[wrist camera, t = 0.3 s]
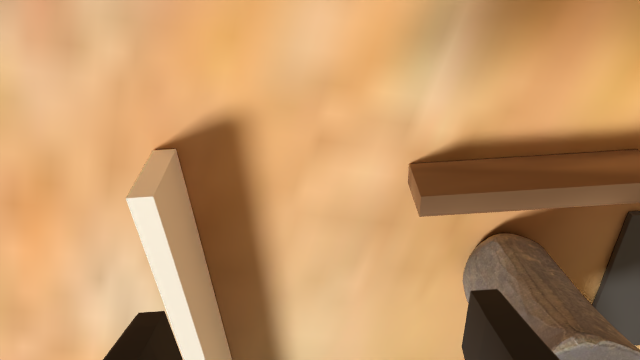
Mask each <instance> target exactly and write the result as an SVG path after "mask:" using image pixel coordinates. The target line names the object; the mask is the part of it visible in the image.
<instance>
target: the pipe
mask: <svg viewBox="0 0 640 360" xmlns="http://www.w3.org/2000/svg"><path fill="white" fill-rule="evenodd" d="M463 286H464V291H465V295H466V298H467V301H468V303H469V298H470V292H471V291H474V290H489V289H498V290H499V291H500V292H501V293H502V294H503V295H504V297H505V298H506V299H507V300H508V301H509V303H510V304H511V305H512V306H513V307H514V309H515V310H516V311H517V312H518V313H519V314H520V316H521V317H522V318H523V319H524V320H525V321H526V322H527V324H528V325H529V326H530V327H531V328H532V329H533V330H534V332H535V333H536V334H537V335H538V336H539V337H540V338H541V339H542V341H543V342H544V343H545V344H546V345H547V346H548V347H549V348H550V349H551V350H552V352H553V353H554V354H555V355H556V356H557V357H558V358H559V359H560V360H640V350H639V349H638V348H637V347H636V346H634V345H633V344H632V343H631V342H630V341H629V340H627V339H626V338H625V337H624V336H623V335H622V334H621V333H620V332H619V331H618V330H617V329H615V328H614V327H613V326H612V325H611V324H610V323H609V322H608V321H607V320H606V319H605V318H604V317H603V316H602V315H601V314H600V313H599V312H598V311H597V310H596V309H595V308H594V307H593V306H592V305H591V303H590V302H589V301H588V300H587V299H586V298H585V297H584V296H583V295H582V294H581V292H580V291H579V290H578V289H577V288H576V287H575V285H574V284H573V283H572V282H571V281H570V279H569V278H568V277H567V276H566V275H565V274H564V272H563V271H562V270H561V269H560V268H559V266H558V265H557V264H556V263H555V262H554V261H553V259H552V258H551V257H550V256H549V255H548V253H547V252H546V251H545V250H544V248H543V247H541V246H540V245H539V244H538V243H536V242H534V241H532V240H530V239H528V238H525V237H522V236H519V235H516V234H508V233H499V234H496V235H493V236H491V237H489V238H487V239H486V240H484V241H483V242H482V243H480V244H479V245H478V246H477V247H476V248H475V249H474V251H473V252H472V254H471V255H470V256H469V259H468V261H467V263H466V266H465V270H464V274H463Z"/></svg>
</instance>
